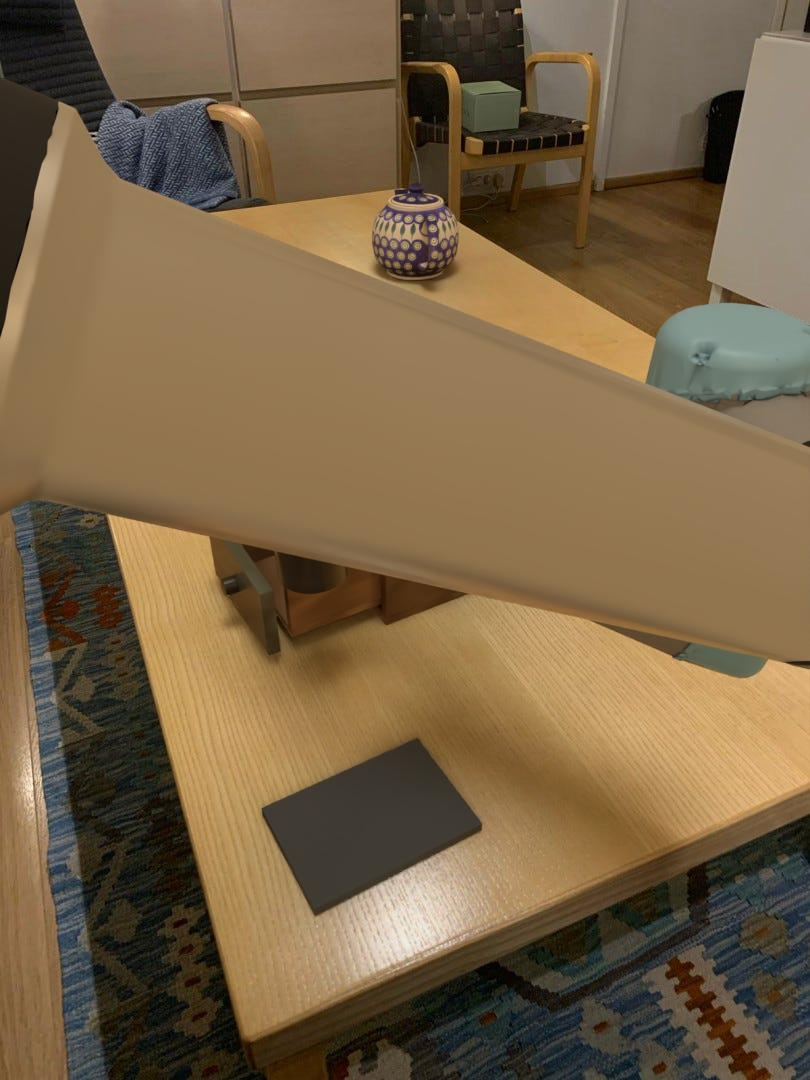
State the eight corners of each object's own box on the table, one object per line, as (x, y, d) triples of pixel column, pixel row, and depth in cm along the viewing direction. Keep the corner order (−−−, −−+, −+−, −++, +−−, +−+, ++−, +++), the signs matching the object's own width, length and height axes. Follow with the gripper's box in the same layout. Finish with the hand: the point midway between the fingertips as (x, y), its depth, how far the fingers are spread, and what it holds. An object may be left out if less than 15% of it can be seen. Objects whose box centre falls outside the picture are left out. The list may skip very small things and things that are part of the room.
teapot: (473, 293, 146) (477, 201, 137) (385, 299, 143) (383, 206, 135) (441, 246, 165) (442, 163, 157) (362, 250, 163) (360, 167, 154)
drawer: (255, 661, 74) (246, 599, 70) (203, 578, 83) (192, 518, 79) (406, 604, 80) (405, 544, 76) (342, 532, 89) (338, 475, 85)
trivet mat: (315, 916, 57) (314, 909, 56) (262, 814, 63) (260, 807, 63) (481, 830, 62) (482, 823, 61) (417, 744, 68) (417, 737, 68)
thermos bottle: (295, 603, 66) (275, 414, 56) (265, 564, 70) (243, 380, 60) (360, 579, 68) (352, 393, 59) (328, 542, 72) (316, 362, 62)
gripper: (443, 661, 50) (161, 527, 61) (584, 509, 62) (329, 420, 73) (446, 556, 45) (141, 432, 56) (598, 415, 58) (324, 335, 68)
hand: (248, 426), depth 64 cm, fingers closed on thermos bottle, 6 cm apart
